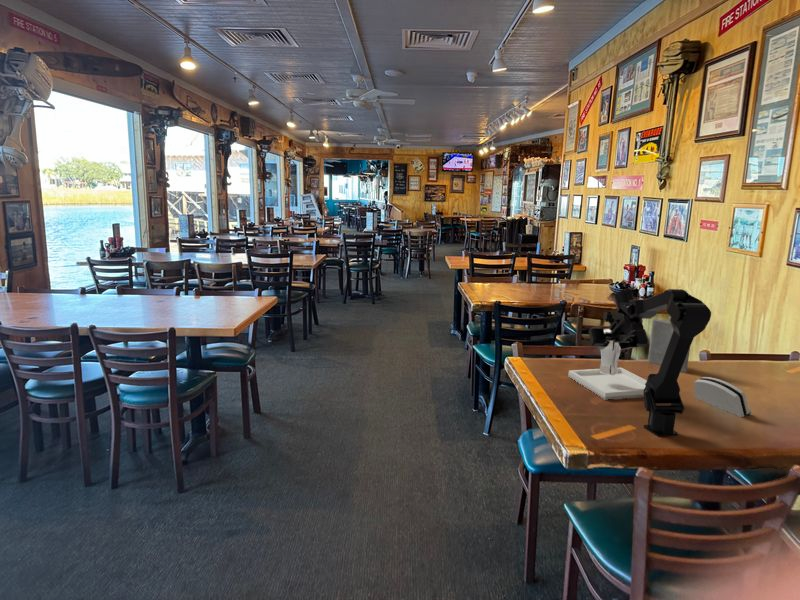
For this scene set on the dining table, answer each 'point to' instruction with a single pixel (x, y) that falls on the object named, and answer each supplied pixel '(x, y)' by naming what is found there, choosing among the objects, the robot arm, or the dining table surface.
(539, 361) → the dining table surface
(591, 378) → the serving tray
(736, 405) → the grey half-round block
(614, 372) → the beer glass
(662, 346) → the hip flask
